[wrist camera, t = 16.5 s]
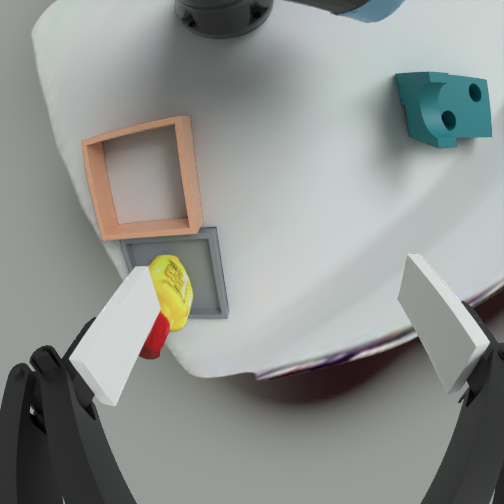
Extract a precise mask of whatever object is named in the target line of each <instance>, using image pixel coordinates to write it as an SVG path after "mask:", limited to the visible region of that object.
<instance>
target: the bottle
mask: <svg viewBox="0 0 504 504" xmlns="http://www.w3.org/2000/svg"><path fill="white" fill-rule="evenodd" d="M148 268H149V272H150V275H151V278H152V282H153V285H154V288H155V292H156V295H157V298H158V301H159V304H160V307H161V310H160V312H159V314H158V316H157V318H156V320H155V322H154V324H153V326H152V328H151V330H150V332H149V334H148V336H147V338H146V340H145V342H144V345H143V347H142V349H141V351H140V353H139V355H138V356H140V357H143V358H145V359H156V358H158V357H159V356H160V350H161V348H162V346H163V345H164V342H165V340H166V338H167V335H168V333H169V332H175V331H179V330H181V329H182V328H183V327H184V326H185V324H186V322H187V319H188V315H189V312H190V309H191V305H192V301H193V290H192V287H191V283H190V279H189V277H188V275H187V273H186V270H185V268H184V266H183V265H182V264H181V263H180V261H179V258H178V257H177V256H173V255H158V256H156V257H155V258H154V259H153V260H152V261H151V263H150V264H149V265H148Z"/></svg>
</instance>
